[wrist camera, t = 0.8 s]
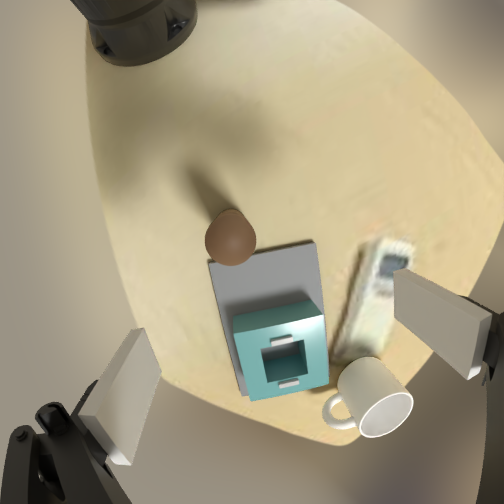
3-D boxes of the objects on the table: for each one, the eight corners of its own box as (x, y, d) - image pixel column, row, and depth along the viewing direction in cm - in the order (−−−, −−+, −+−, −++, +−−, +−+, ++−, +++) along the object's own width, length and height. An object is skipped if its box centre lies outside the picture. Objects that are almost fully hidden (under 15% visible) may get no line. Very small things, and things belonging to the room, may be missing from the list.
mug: (319, 412, 40) (337, 456, 30) (307, 378, 38) (326, 424, 28) (385, 382, 40) (413, 419, 30) (379, 346, 38) (413, 381, 28)
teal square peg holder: (233, 315, 35) (233, 335, 29) (311, 299, 35) (324, 316, 30) (248, 379, 37) (250, 403, 31) (318, 363, 37) (329, 385, 32)
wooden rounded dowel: (213, 212, 33) (200, 220, 20) (243, 206, 33) (251, 210, 20) (219, 241, 34) (210, 270, 20) (248, 236, 34) (260, 260, 20)
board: (209, 262, 34) (208, 264, 33) (313, 241, 35) (315, 242, 34) (241, 392, 38) (241, 396, 37) (327, 373, 39) (329, 377, 38)
